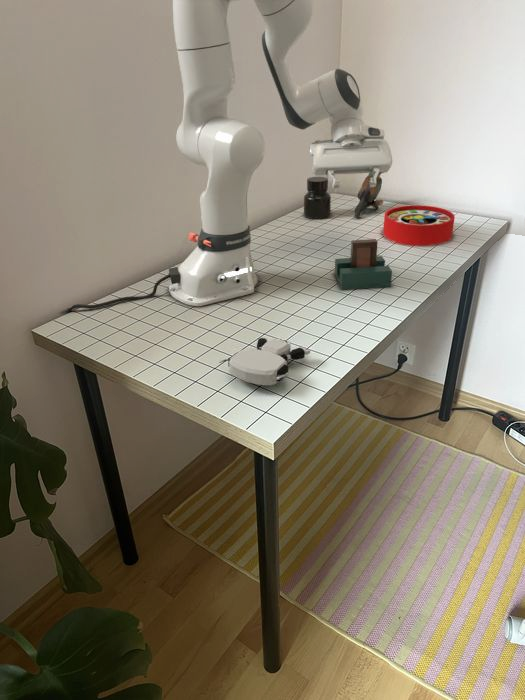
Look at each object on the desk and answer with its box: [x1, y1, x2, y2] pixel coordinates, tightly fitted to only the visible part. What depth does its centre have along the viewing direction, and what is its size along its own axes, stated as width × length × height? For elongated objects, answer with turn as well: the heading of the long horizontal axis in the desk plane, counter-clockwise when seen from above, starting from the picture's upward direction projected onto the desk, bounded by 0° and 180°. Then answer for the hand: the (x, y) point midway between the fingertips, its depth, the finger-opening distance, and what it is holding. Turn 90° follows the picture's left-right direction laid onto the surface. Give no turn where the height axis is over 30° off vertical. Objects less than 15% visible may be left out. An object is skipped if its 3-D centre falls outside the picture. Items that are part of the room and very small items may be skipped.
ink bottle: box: [303, 176, 332, 220], centre depth 182 cm, size 10×9×12 cm
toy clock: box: [382, 204, 455, 247], centre depth 164 cm, size 20×6×20 cm
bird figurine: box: [353, 172, 385, 220], centre depth 184 cm, size 13×10×20 cm
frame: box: [349, 238, 378, 268], centre depth 135 cm, size 2×6×9 cm, turn 94°
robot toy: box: [218, 337, 311, 386], centre depth 103 cm, size 12×4×15 cm
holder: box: [334, 255, 393, 291], centre depth 137 cm, size 10×12×4 cm
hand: (354, 186), depth 140 cm, fingers open, 8 cm apart
